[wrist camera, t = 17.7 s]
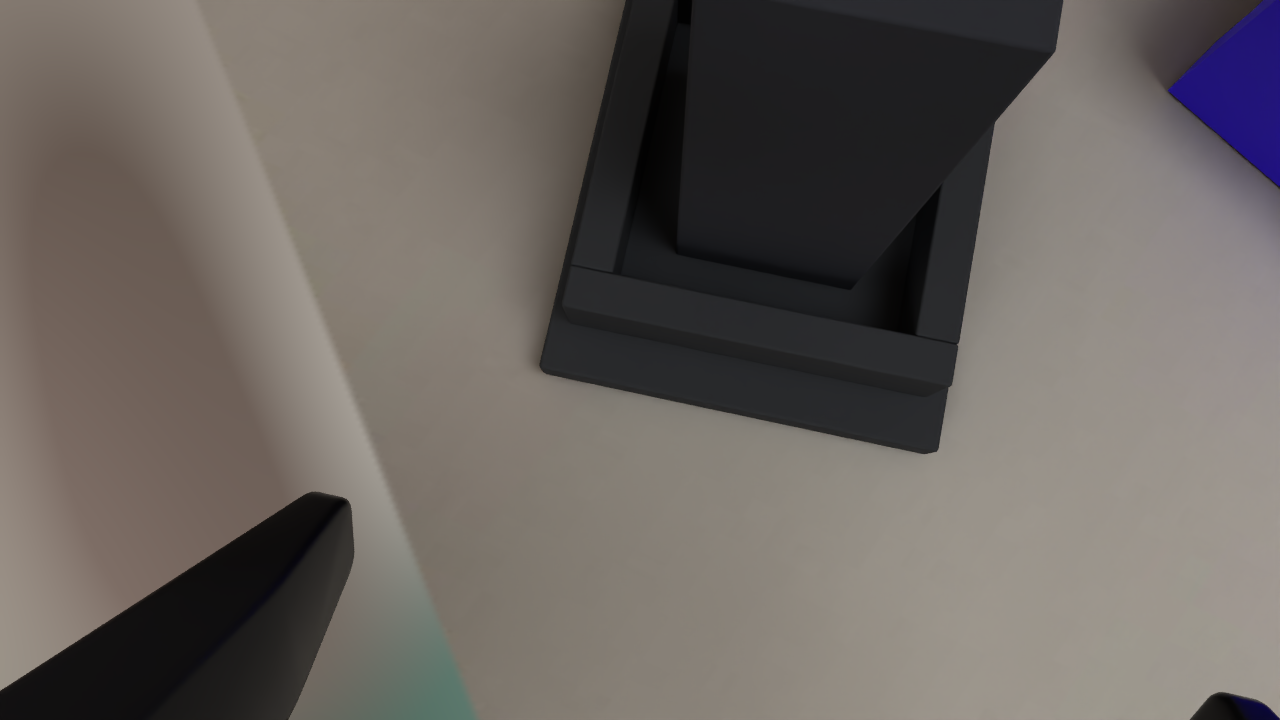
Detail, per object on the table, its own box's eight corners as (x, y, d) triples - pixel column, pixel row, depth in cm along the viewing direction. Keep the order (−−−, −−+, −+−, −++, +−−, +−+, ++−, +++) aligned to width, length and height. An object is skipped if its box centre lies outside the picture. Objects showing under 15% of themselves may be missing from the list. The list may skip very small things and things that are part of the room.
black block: (851, 291, 23) (1057, 52, 11) (675, 254, 23) (692, -16, 11) (885, 106, 24) (1112, -300, 12) (714, 74, 24) (769, -356, 12)
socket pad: (926, 455, 23) (966, 446, 20) (543, 373, 24) (526, 353, 21) (997, 25, 25) (1043, -40, 22) (641, -42, 26) (638, -114, 23)
